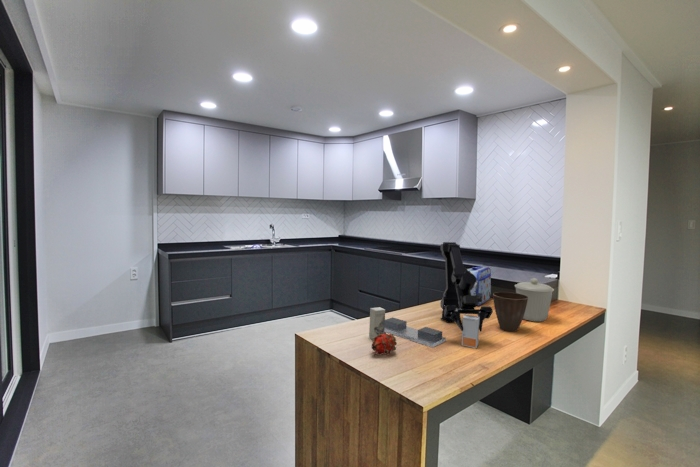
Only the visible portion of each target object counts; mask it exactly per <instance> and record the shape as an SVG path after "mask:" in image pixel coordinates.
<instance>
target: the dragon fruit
mask: <svg viewBox="0 0 700 467" xmlns="http://www.w3.org/2000/svg"><path fill="white" fill-rule="evenodd" d="M397 345H398V344H397V339H396V336H395V335H393V334H390V333H387V332H384V334H379V335H378V336H377V337H375V338H374V339H373V340H372V344H371V346H370V347H371V349H372V351H374V355H379V356H381V355H382V354H385V355H386V356H389V355H390V354H391V352H392V351H396V349H397Z"/></svg>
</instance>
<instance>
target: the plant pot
mask: <svg viewBox="0 0 700 467" xmlns="http://www.w3.org/2000/svg"><path fill="white" fill-rule="evenodd" d="M492 297H493V305H494V311H495V315H496V319H497V323H498V326H499V328H500V329H501V330H502V331H505V332H512V333H513V332H517V331H518V330H519V328H520V326H521V325H522V324H521V323H522V321H523V320H524V319H523V317H524V313H525V310H526V306H527V301H528V297H527V296H526V295H523V294H518V293H516V292H510V291H496V292H493V293H492Z"/></svg>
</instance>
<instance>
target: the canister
mask: <svg viewBox="0 0 700 467" xmlns="http://www.w3.org/2000/svg"><path fill="white" fill-rule="evenodd" d="M514 288H515V293H518V294H523V295H526V296H527V297H528V301H527V306H526V310H525V313H524V317H523V319H522V320H525V321H530V322H544V321H546V320H547V319H548V316H549V313H550V312H549V311H550V307H551V302H552V297H553V292H554V291H555V289H554V288H553V287H551V286H550V285H548V284H544V283H540V282H539V280H538V279H537V278H535V277H533V278H531V279H530V280H529V281H523V282H518V283H517V284H516V283H515V284H514Z"/></svg>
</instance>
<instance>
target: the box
mask: <svg viewBox="0 0 700 467" xmlns="http://www.w3.org/2000/svg"><path fill="white" fill-rule="evenodd" d="M385 320H386V309H384V308H382V307H380V306H379V307H370V310H369V332H368V338H369V339H371V341H373V339H374V338H375V337H377V336H378V335H379V334H384V329H385Z"/></svg>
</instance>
